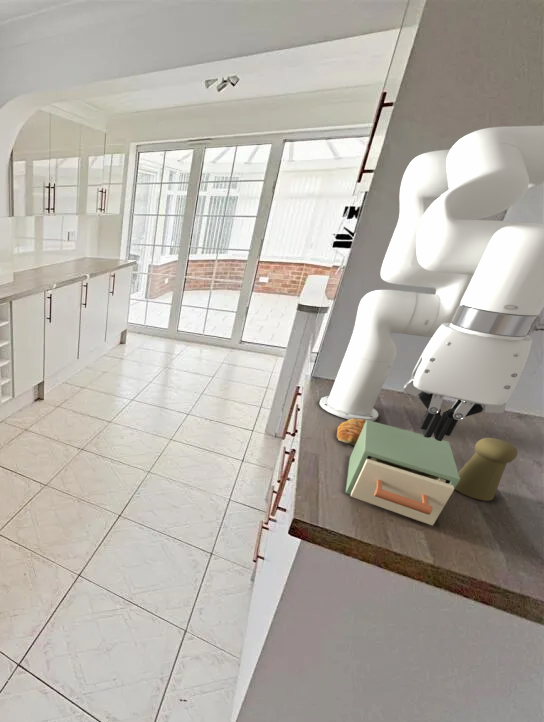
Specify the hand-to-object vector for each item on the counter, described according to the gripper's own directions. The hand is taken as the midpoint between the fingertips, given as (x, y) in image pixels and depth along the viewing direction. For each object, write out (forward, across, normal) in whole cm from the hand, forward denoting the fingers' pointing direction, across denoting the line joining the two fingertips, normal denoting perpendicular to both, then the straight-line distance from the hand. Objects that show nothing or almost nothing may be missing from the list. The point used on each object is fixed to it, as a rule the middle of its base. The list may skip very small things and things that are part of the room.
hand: (431, 435), depth 64 cm
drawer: (+16, 0, -6) cm, 17 cm away
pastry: (+17, +6, -29) cm, 34 cm away
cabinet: (+17, 0, -11) cm, 20 cm away
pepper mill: (+17, -13, -21) cm, 30 cm away
